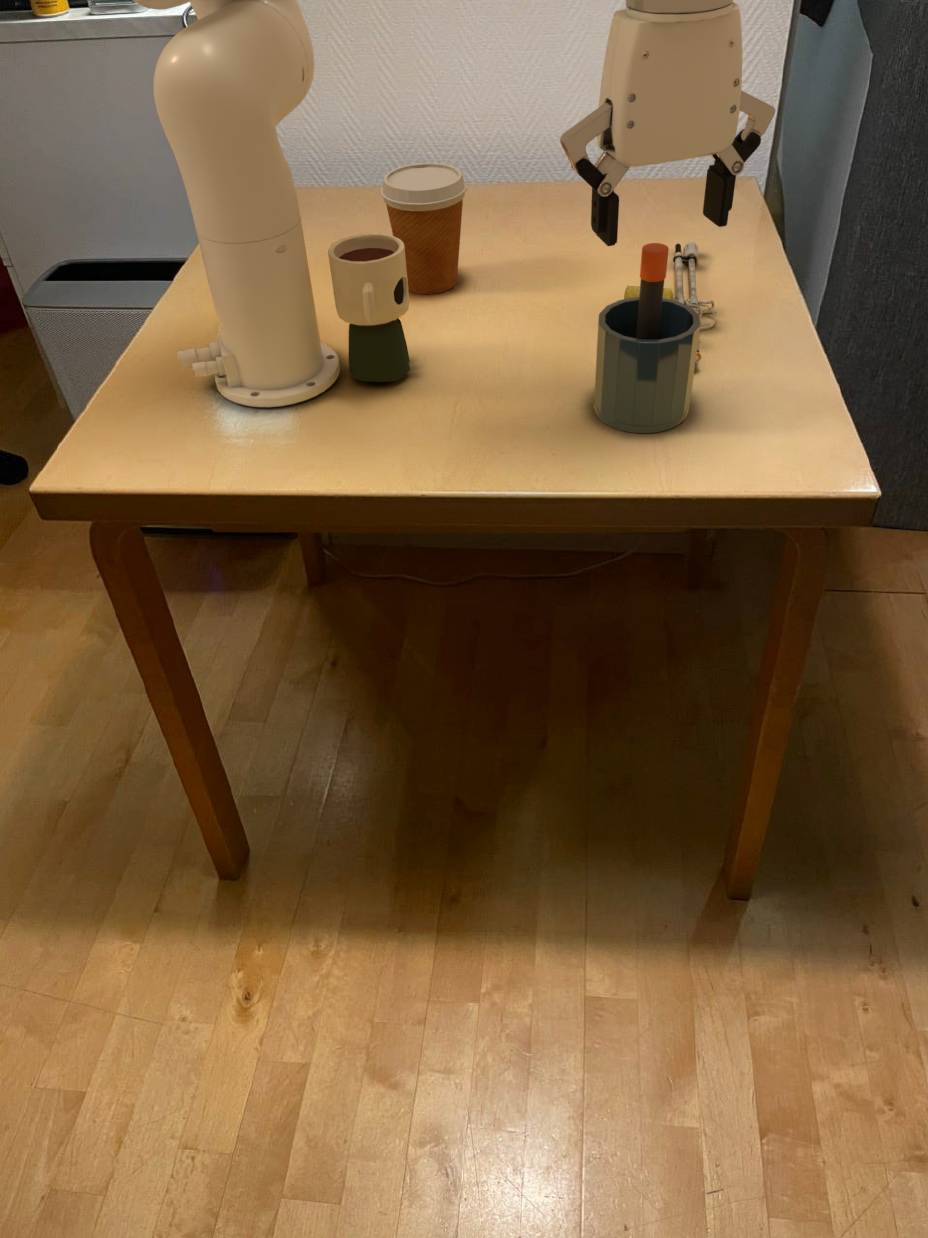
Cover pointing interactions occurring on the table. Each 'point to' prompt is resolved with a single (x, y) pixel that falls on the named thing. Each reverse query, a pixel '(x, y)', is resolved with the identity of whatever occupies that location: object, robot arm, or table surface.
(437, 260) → the disposable coffee cup
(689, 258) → the flamethrower
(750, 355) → the table surface
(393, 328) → the character mug
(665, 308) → the pencil cup
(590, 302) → the table surface
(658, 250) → the marker
